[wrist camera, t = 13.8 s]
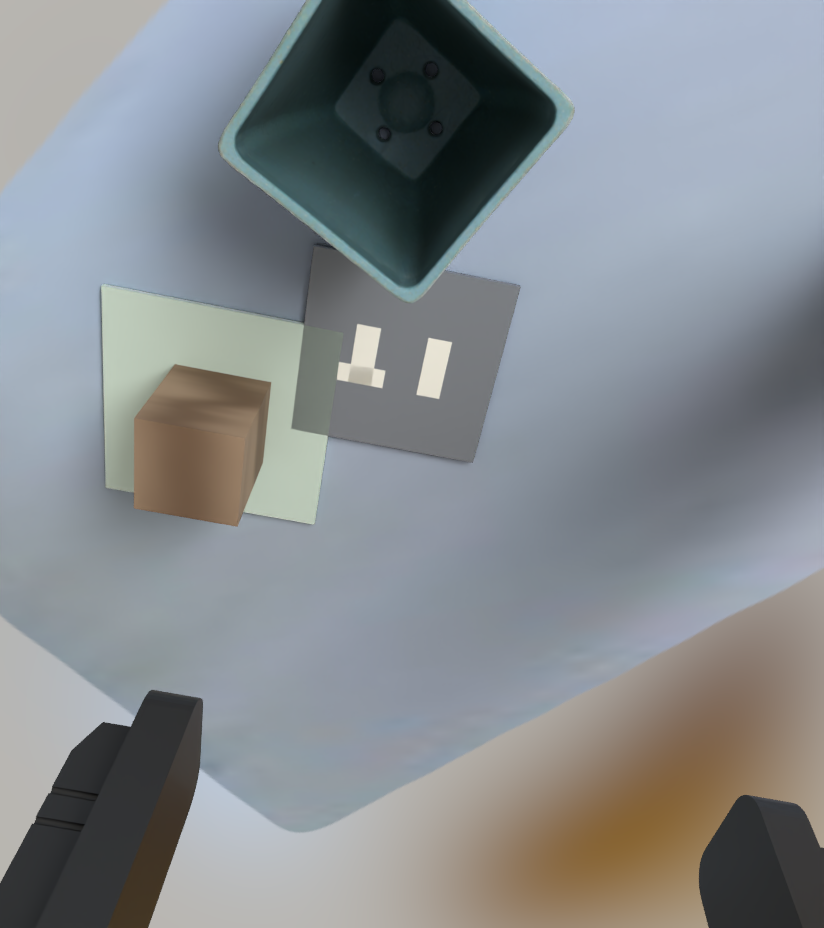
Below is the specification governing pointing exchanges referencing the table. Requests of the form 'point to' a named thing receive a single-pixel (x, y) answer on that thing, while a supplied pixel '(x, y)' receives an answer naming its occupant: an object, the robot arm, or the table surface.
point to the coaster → (225, 351)
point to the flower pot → (394, 131)
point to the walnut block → (200, 444)
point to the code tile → (406, 357)
